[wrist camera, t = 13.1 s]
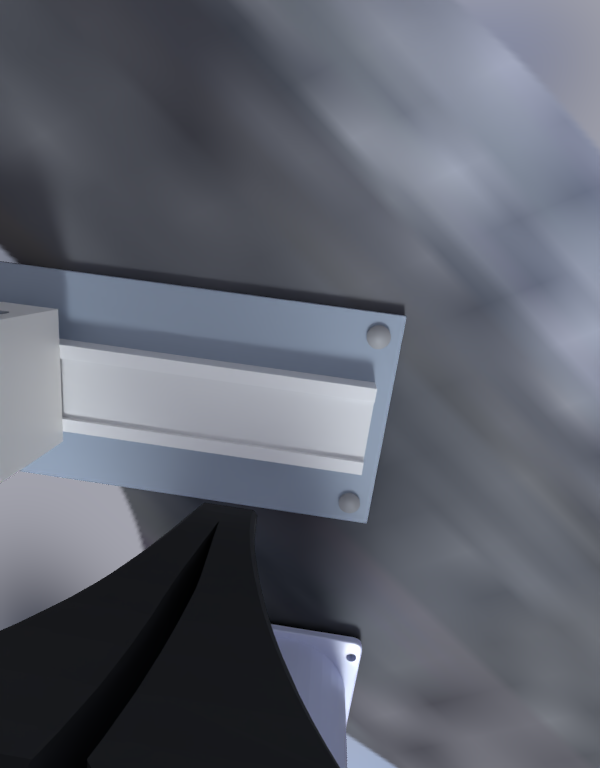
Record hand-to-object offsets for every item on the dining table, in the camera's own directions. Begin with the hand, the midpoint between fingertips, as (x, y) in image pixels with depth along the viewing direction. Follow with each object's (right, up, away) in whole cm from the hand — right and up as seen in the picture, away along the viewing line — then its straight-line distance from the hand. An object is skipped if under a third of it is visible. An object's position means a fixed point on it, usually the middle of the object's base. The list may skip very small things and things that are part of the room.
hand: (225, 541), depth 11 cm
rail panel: (-6, +4, +10) cm, 12 cm away
